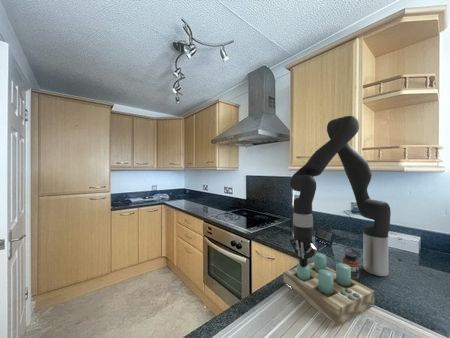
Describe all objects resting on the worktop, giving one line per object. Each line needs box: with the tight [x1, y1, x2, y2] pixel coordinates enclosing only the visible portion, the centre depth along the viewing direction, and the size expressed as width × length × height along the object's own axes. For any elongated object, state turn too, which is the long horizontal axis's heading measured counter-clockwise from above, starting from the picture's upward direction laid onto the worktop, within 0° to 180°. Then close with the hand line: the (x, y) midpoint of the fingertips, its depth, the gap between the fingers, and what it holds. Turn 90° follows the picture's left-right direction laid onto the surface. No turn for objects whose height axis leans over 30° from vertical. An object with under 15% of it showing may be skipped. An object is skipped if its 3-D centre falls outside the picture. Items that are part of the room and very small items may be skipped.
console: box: [283, 261, 375, 326], centre depth 75 cm, size 20×24×5 cm
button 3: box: [318, 269, 333, 294], centre depth 69 cm, size 5×5×6 cm
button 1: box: [296, 262, 310, 282], centre depth 78 cm, size 5×5×6 cm
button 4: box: [335, 262, 351, 286], centre depth 73 cm, size 5×5×6 cm
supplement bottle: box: [342, 251, 360, 283], centre depth 84 cm, size 6×6×11 cm
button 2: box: [313, 252, 328, 271], centre depth 82 cm, size 5×5×6 cm
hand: (303, 266), depth 78 cm, fingers closed
